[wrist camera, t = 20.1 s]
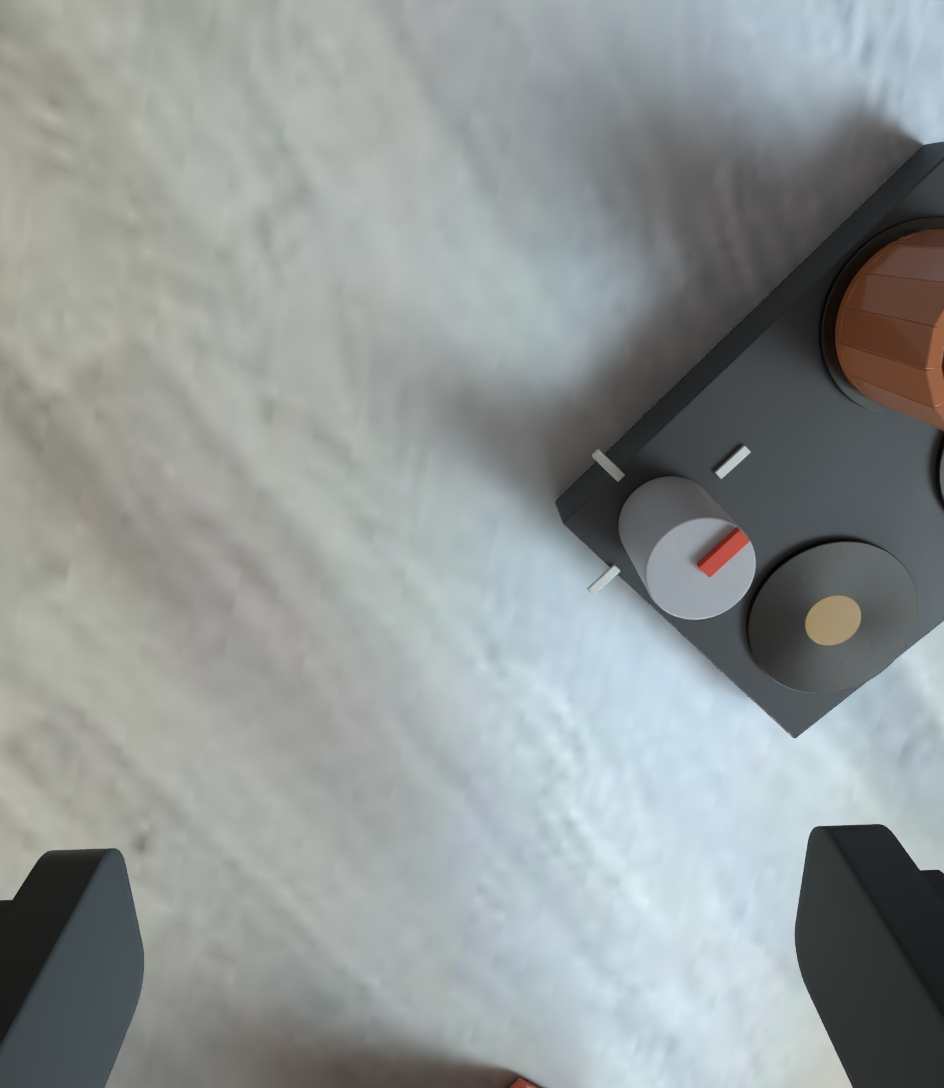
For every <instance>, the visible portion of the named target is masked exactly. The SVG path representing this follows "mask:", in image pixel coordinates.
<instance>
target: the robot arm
mask: <svg viewBox="0 0 944 1088" xmlns="http://www.w3.org/2000/svg"><path fill="white" fill-rule="evenodd" d="M795 945H796V953H797V959H798V963H799V967H800V971H801V975H802V977H803V980H804V983H805V985H806V988H807V990H808V992H809V994H810V997H811V999H812V1001H813V1003H814V1005H815V1007H816V1009H817V1012H818V1014H819V1016H820V1018H821V1020H822V1022H823V1024H824V1027H825V1029H826V1031H827V1033H828V1035H829V1037H830V1040H831V1042H832V1044H833V1046H834V1048H835V1050H836V1052H837V1055H838V1057H839V1059H840V1061H841V1063H842V1065H843V1067H844V1070H845V1072H846V1074H847V1076H848V1078H849V1080H850V1082H851V1085H852V1087H853V1088H944V873H942V872H941V871H940V870H922V871H920V870H919V869H918V867H917V866H916V864H915V863H914V862H913V860H912V859H911V858H910V856H909V855H908V853H907V852H906V851H905V849H904V848H903V846H902V845H901V844H900V842H899V841H898V840H897V838H896V837H895V835H894V834H893V833H892V832H891V831H890V830H889V829H888V828H887V827H885V826H883V825H880V824H872V825H843V826H818V827H815V828H814V829H813V830H812V831H811V833H810V836H809V839H808V845H807V851H806V858H805V864H804V871H803V877H802V884H801V890H800V897H799V904H798V910H797V917H796V923H795ZM143 973H144V950H143V944H142V939H141V934H140V930H139V925H138V920H137V916H136V911H135V906H134V902H133V897H132V892H131V888H130V883H129V878H128V874H127V869H126V864H125V861H124V858H123V855H122V854H121V852H120V851H119V850H118V849H115V848H109V849H80V850H52V851H48V852H46V853H45V854H43V855H42V856H41V857H40V859H39V860H38V861H37V863H36V864H35V866H34V867H33V869H32V870H31V872H30V874H29V875H28V877H27V878H26V880H25V881H24V883H23V884H22V886H21V888H20V889H19V891H18V892H17V894H16V895H15V897H14V898H13V900H1V901H0V1088H105V1085H106V1083H107V1080H108V1078H109V1075H110V1073H111V1070H112V1068H113V1065H114V1063H115V1060H116V1058H117V1055H118V1052H119V1050H120V1047H121V1045H122V1042H123V1040H124V1037H125V1035H126V1032H127V1030H128V1027H129V1025H130V1022H131V1020H132V1017H133V1015H134V1012H135V1010H136V1007H137V1004H138V1000H139V997H140V992H141V988H142V982H143Z"/></svg>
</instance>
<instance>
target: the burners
mask: <svg viewBox="0 0 944 1088" xmlns="http://www.w3.org/2000/svg"><path fill="white" fill-rule="evenodd" d="M929 229H944V217H936V216H934V217H921V218H915V219H911V220H907V221H903V222H901V223H898V224H895V225H893V226H891V227H889V228H887V229H885V230H883V231H881V232H879V233H878V234H876V235H875V236H873V237H872V238H870V239H869V240H867V241H866V242H865V243H864V244H863V245H862V246H860V247H859V248H858V249H857V250H856V251H855V252H854V253H853V254H852V255H851V256H850V257H849V258H848V259H847V261H846V262H845V263H844V265H843V266H842V267H841V269H840V270H839V271H838V273H837V275H836V277H835V278H834V280H833V282H832V283H831V286H830V288H829V290H828V292H827V295H826V297H825V300H824V303H823V307H822V310H821V316H820V321H819V348H820V352H821V357H822V361H823V364H824V366H825V369H826V371H827V373H828V375H829V377H830V379H831V380H832V382H833V383H834V384H835V386H836V387H837V388H838V390H839V391H840V392H841V393H843V394H844V395H845V396H846V397H847V398H848V399H850V400H851V401H852V402H854V403H855V404H857V405H859V406H861V407H863V408H865V409H867V410H870V411H873V412H876V413H880V414H885V415H894V416H906V415H905V414H903V413H901V412H898V411H896V410H894V409H891V408H889V407H887V406H884V405H882V404H880V403H877V402H875V401H872V400H870V399H869V398H868V397H866V396H865V395H863V394H862V393H861V392H859V391H858V390H857V389H856V388H855V387H854V386H853V385H852V384H851V382H850V381H849V380H848V378H847V377H846V375H845V373H844V372H843V370H842V368H841V365H840V362H839V359H838V356H837V351H836V345H835V326H836V319H837V314H838V310H839V307H840V304H841V301H842V298H843V296H844V294H845V292H846V290H847V288H848V286H849V284H850V283H851V281H852V279H853V278H854V277H855V275H856V274H857V273H858V271H859V270H860V269H861V267H862V266H863V265H864V264H865V263H866V262H867V261H868V260H869V259H870V258H871V257H872V256H873V255H875V254H876V253H877V252H878V251H879V250H881V249H882V248H884V247H885V246H887V245H888V244H890V243H891V242H893V241H895V240H897V239H899V238H901V237H903V236H906V235H909V234H912V233H915V232H919V231H923V230H929ZM935 481H936V487H937V492H938V495H939V498H940V501H941V503H942V505H943V507H944V435H943V438H942V441H941V443H940V446H939V450H938V454H937V458H936V466H935ZM917 610H918V598H917V593H916V588H915V585H914V582H913V579H912V577H911V575H910V574H909V572H908V570H907V569H906V568H905V566H904V565H903V564H902V563H901V562H900V561H899V560H898V559H897V558H896V557H895V556H894V555H892V554H891V553H889V552H888V551H886V550H885V549H883V548H881V547H879V546H877V545H875V544H872V543H869V542H866V541H861V540H855V539H833V540H827V541H822V542H818V543H815V544H812V545H809V546H806V547H804V548H802V549H800V550H798V551H796V552H794V553H792V554H791V555H789V556H788V557H786V558H785V559H783V560H782V561H781V562H780V563H778V564H777V565H776V566H775V567H774V568H773V569H772V570H771V571H770V572H769V573H768V574H767V575H766V577H765V578H764V579H763V580H762V582H761V583H760V585H759V586H758V588H757V590H756V591H755V594H754V596H753V598H752V600H751V603H750V606H749V609H748V614H747V620H746V633H747V640H748V644H749V648H750V650H751V652H752V655H753V657H754V658H755V660H756V662H757V663H758V665H759V666H760V667H761V669H762V670H763V671H764V672H765V673H766V674H767V675H768V676H769V677H771V678H772V679H773V680H774V681H776V682H778V683H779V684H781V685H783V686H785V687H787V688H790V689H793V690H796V691H800V692H805V693H816V694H824V693H834V692H839V691H844V690H847V689H850V688H853V687H856V686H858V685H860V684H863V683H865V682H866V681H868V680H870V679H872V678H874V677H875V676H876V675H878V674H879V673H881V672H882V671H883V670H884V669H886V668H887V667H888V666H889V665H890V664H891V663H892V662H893V661H894V660H895V659H896V658H897V657H898V656H899V654H900V653H901V651H902V650H903V649H904V647H905V646H906V644H907V642H908V640H909V638H910V636H911V634H912V632H913V629H914V626H915V622H916V618H917Z"/></svg>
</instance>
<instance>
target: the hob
mask: <svg viewBox="0 0 944 1088" xmlns="http://www.w3.org/2000/svg"><path fill="white" fill-rule="evenodd" d="M934 216H936V217H944V142H938V143H932V144H926V145H924V146H923V147H922V148H921V149H920V150H919V151H918V152H917V153H915V154H914V155H913V156H912V157H911V158H910V159H909V160H908V161H907V162H906V163H905V164H904V165H903V166H902V167H901V168H900V169H899V170H898V171H897V172H896V173H895V174H894V175H893V176H892V177H891V178H890V179H889V180H888V181H887V182H885V183H884V184H883V185H882V186H881V187H880V188H879V189H878V190H877V191H876V192H875V193H874V194H873V195H872V196H871V197H870V198H869V199H868V200H867V201H866V202H865V203H864V204H863V205H862V206H861V207H860V208H859V209H858V210H857V211H855V212H854V213H853V214H852V215H851V216H850V217H849V218H848V219H847V220H846V221H845V222H844V223H843V224H842V225H841V226H840V227H839V228H838V229H837V230H836V231H835V232H834V233H833V234H832V235H831V236H830V237H829V238H828V239H827V240H825V241H824V242H823V243H822V244H821V245H820V246H819V247H818V248H817V249H816V250H815V251H814V252H813V253H812V254H811V255H810V256H809V257H808V258H807V259H806V260H805V261H804V262H803V263H802V264H801V265H800V266H799V267H798V268H797V269H795V270H794V271H793V272H792V273H791V274H790V275H789V276H788V277H787V278H786V279H785V280H784V281H783V282H782V283H781V284H780V285H779V286H778V287H777V288H776V289H775V290H774V291H773V292H772V293H771V294H770V295H769V296H768V297H766V298H765V299H764V300H763V301H762V302H761V303H760V304H759V305H758V306H757V307H756V308H755V309H754V310H753V311H752V312H751V313H750V314H749V315H748V316H747V317H746V318H745V319H744V320H743V321H742V322H741V323H740V324H739V325H738V326H736V327H735V328H734V329H733V330H732V331H731V332H730V333H729V334H728V335H727V336H726V337H725V338H724V339H723V340H722V341H721V342H720V343H719V344H718V345H717V346H716V347H715V348H714V349H713V350H712V351H711V352H710V353H709V354H708V355H706V356H705V357H704V358H703V359H702V360H701V361H700V362H699V363H698V364H697V365H696V366H695V367H694V368H693V369H692V370H691V371H690V372H689V373H688V374H687V375H686V376H685V377H684V378H683V379H682V380H681V381H680V382H679V383H678V384H676V385H675V386H674V387H673V388H672V389H671V390H670V391H669V392H668V393H667V394H666V395H665V396H664V397H663V398H662V399H661V400H660V401H659V402H658V403H657V404H656V405H655V406H654V407H653V408H652V409H651V410H650V411H649V412H648V413H646V414H645V415H644V416H643V417H642V418H641V419H640V420H639V421H638V422H637V423H636V424H635V425H634V426H633V427H632V428H631V429H630V430H629V431H628V432H627V433H626V434H625V435H624V436H623V437H622V438H621V439H620V440H619V441H618V442H616V443H615V444H614V445H613V446H612V447H611V448H610V449H609V450H608V451H607V452H606V453H605V454H603V453H602V452H601V451H600V450H599V449H597V450H596V451H595V452H594V453H593V454H592V455H591V456H592V457H593V458H594V459H595V460H596V461H597V462H596V463H595V464H594V465H593V466H592V467H591V468H590V469H589V470H588V471H586V472H585V473H584V474H583V475H582V476H581V477H580V478H579V479H578V480H577V481H576V482H575V483H574V484H573V485H572V486H571V487H570V488H569V489H568V490H567V491H566V492H565V493H564V494H563V495H562V496H561V497H560V498H559V499H558V500H556V502H555V503H556V506H557V508H558V511H559V514H560V516H561V519H562V522H563V524H564V525H565V526H566V527H567V528H569V529H570V530H571V531H572V532H573V533H574V534H575V535H576V536H577V537H578V538H579V539H580V540H581V541H583V542H584V543H585V544H586V545H587V546H588V547H589V548H590V549H591V550H592V551H593V552H594V553H595V554H596V555H598V556H599V557H600V558H601V559H602V560H603V561H604V562H605V563H606V564H607V565H608V566H609V567H610V568H609V569H608V570H607V571H605V572H604V573H603V574H602V575H601V576H600V577H599V578H598V579H597V580H596V581H595V582H594V583H592V584H591V585H590V586H589V587H588V588H587V590H588V591H589V592H590V593H591V594H593V595H595V594H596V593H597V592H598V591H600V590H601V589H602V588H603V587H604V586H605V585H606V584H607V583H608V582H609V581H610V580H612V579H613V578H614V577H615V576H616V575H617V574H618V575H619V576H620V577H621V578H622V579H623V580H624V581H625V582H626V583H628V584H629V585H630V586H631V587H632V588H633V589H634V590H635V591H636V592H637V593H638V594H639V595H640V596H642V597H643V598H644V599H645V600H646V601H647V602H648V603H649V604H650V605H651V606H652V607H653V608H654V609H655V610H657V611H658V612H659V613H660V614H661V615H662V616H663V617H664V618H665V619H666V620H667V621H668V622H669V623H670V624H672V625H673V626H674V627H675V628H676V629H677V630H678V631H679V632H680V633H681V634H682V635H683V636H684V637H686V638H687V639H688V640H689V641H690V642H691V643H692V644H693V645H694V646H695V647H696V648H697V649H698V650H699V651H701V652H702V653H703V654H704V655H705V656H706V657H707V658H708V659H709V660H710V661H711V662H712V663H713V664H714V665H716V666H717V667H718V668H719V669H720V670H721V671H722V672H723V673H724V674H725V675H726V676H727V677H728V678H729V679H731V680H732V681H733V682H734V683H735V684H736V685H737V686H738V687H739V688H740V689H741V690H742V691H743V692H745V693H746V694H747V695H748V696H749V697H750V698H751V699H752V700H753V701H754V702H755V703H756V704H757V705H758V706H760V707H761V708H762V709H763V710H764V711H765V712H766V713H767V714H768V715H769V716H770V717H771V718H772V719H773V720H775V721H776V722H777V723H778V724H779V725H780V726H781V727H782V728H783V729H784V730H785V731H786V732H787V733H788V734H790V735H791V736H792V737H793V738H797V737H798V736H799V735H800V734H802V733H803V732H804V731H805V730H807V729H808V728H809V727H810V726H812V725H813V724H814V723H815V722H817V721H818V720H819V719H820V718H822V717H823V716H824V715H826V714H827V713H828V712H829V711H831V710H832V709H833V708H834V707H836V706H837V705H838V704H839V703H841V702H842V701H843V700H844V699H846V698H847V697H848V696H849V695H851V694H852V693H853V692H855V691H856V690H857V689H858V688H860V687H861V686H862V685H863V684H865V683H866V682H867V681H866V682H865V683H863V684H860V685H858V686H856V687H853V688H850V689H847V690H844V691H839V692H834V693H824V694H816V693H805V692H800V691H796V690H793V689H790V688H787V687H785V686H783V685H781V684H779V683H778V682H776V681H774V680H773V679H772V678H771V677H769V676H768V675H767V674H766V673H765V672H764V671H763V670H762V669H761V667H760V666H759V665H758V663H757V662H756V660H755V658H754V657H753V655H752V652H751V650H750V648H749V644H748V640H747V633H746V620H747V614H748V609H749V606H750V603H751V600H752V598H753V596H754V594H755V591H756V590H757V588H758V586H759V585H760V583H761V582H762V580H763V579H764V578H765V577H766V575H767V574H768V573H769V572H770V571H771V570H772V569H773V568H774V567H775V566H776V565H777V564H778V563H780V562H781V561H782V560H783V559H785V558H786V557H788V556H789V555H791V554H792V553H794V552H796V551H798V550H800V549H802V548H804V547H806V546H809V545H812V544H815V543H818V542H822V541H827V540H833V539H855V540H861V541H866V542H869V543H872V544H875V545H877V546H879V547H881V548H883V549H885V550H886V551H888V552H889V553H891V554H892V555H894V556H895V557H896V558H897V559H898V560H899V561H900V562H901V563H902V564H903V565H904V566H905V568H906V569H907V570H908V572H909V574H910V575H911V577H912V579H913V582H914V585H915V588H916V593H917V598H918V610H917V618H916V622H915V626H914V629H913V632H912V634H911V636H910V638H909V640H908V642H907V644H906V646H905V647H904V649H903V650H902V651H901V653H900V654H899V656H900V655H901V654H902V653H904V652H905V651H906V650H907V649H909V648H910V647H911V646H912V645H914V644H915V643H916V642H918V641H919V640H920V639H921V638H923V637H924V636H925V635H926V634H928V633H929V632H930V631H931V630H933V629H934V628H935V627H936V626H938V625H939V624H940V623H941V622H943V621H944V507H943V505H942V503H941V501H940V498H939V495H938V492H937V487H936V481H935V466H936V458H937V454H938V450H939V446H940V443H941V441H942V438H943V435H944V431H943V430H941V429H938V428H936V427H934V426H931V425H929V424H927V423H924V422H922V421H920V420H917V419H915V418H913V417H910V416H908V415H906V416H894V415H885V414H880V413H876V412H873V411H870V410H867V409H865V408H863V407H861V406H859V405H857V404H855V403H854V402H852V401H851V400H850V399H848V398H847V397H846V396H845V395H844V394H843V393H841V392H840V391H839V390H838V388H837V387H836V386H835V384H834V383H833V382H832V380H831V379H830V377H829V375H828V373H827V371H826V369H825V366H824V364H823V361H822V357H821V352H820V348H819V321H820V316H821V310H822V307H823V303H824V300H825V297H826V295H827V292H828V290H829V288H830V286H831V283H832V282H833V280H834V278H835V277H836V275H837V273H838V271H839V270H840V269H841V267H842V266H843V265H844V263H845V262H846V261H847V259H848V258H849V257H850V256H851V255H852V254H853V253H854V252H855V251H856V250H857V249H858V248H859V247H860V246H862V245H863V244H864V243H865V242H866V241H867V240H869V239H870V238H872V237H873V236H875V235H876V234H878V233H879V232H881V231H883V230H885V229H887V228H889V227H891V226H893V225H895V224H898V223H901V222H903V221H907V220H911V219H915V218H921V217H934ZM667 476H676V477H682V478H686V479H689V480H691V481H693V482H695V483H696V484H698V485H699V486H700V487H702V488H703V489H704V490H705V491H706V492H707V493H708V495H709V496H710V497H711V498H712V499H713V500H714V501H715V502H716V503H717V504H718V505H719V506H720V507H721V508H722V509H723V510H724V511H725V512H726V514H727V515H728V516H729V517H730V518H731V519H732V520H733V521H734V522H735V523H736V524H737V525H738V526H739V527H740V528H741V529H742V530H743V532H744V533H745V534H746V535H747V536H748V538H749V539H750V541H751V543H752V545H753V548H754V552H755V558H756V567H755V574H754V577H753V580H752V583H751V585H750V587H749V589H748V590H747V592H746V593H745V595H744V596H743V597H742V598H741V599H740V600H739V601H738V602H737V603H736V604H735V605H734V606H733V607H731V608H730V609H728V610H727V611H725V612H723V613H721V614H719V615H716V616H713V617H710V618H706V619H684V618H680V617H676V616H674V615H671V614H669V613H667V612H666V611H664V610H663V609H661V608H660V607H659V606H658V605H657V604H656V603H655V602H654V601H653V599H652V598H651V596H650V594H649V592H648V591H647V589H646V587H645V585H644V583H643V581H642V579H641V578H640V576H639V574H638V572H637V570H636V568H635V566H634V564H633V563H632V561H631V559H630V557H629V555H628V553H627V551H626V550H625V548H624V546H623V544H622V542H621V539H620V535H619V526H618V525H619V517H620V513H621V510H622V508H623V506H624V504H625V502H626V500H627V499H628V498H629V496H630V495H631V494H632V493H633V492H634V491H635V490H636V489H637V488H639V487H640V486H642V485H643V484H645V483H647V482H649V481H651V480H653V479H656V478H660V477H667ZM899 656H898V657H899Z"/></svg>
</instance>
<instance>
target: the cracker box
mask: <svg viewBox="0 0 944 1088" xmlns="http://www.w3.org/2000/svg"><path fill="white" fill-rule="evenodd" d="M509 1088H537V1087H536V1086H534V1085H532V1084H530V1083H529V1082H527V1081H525V1080H524V1079H522V1078H518V1080H517V1081H516V1082H515V1083H514V1084H513V1085H511V1086H510V1087H509Z"/></svg>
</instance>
